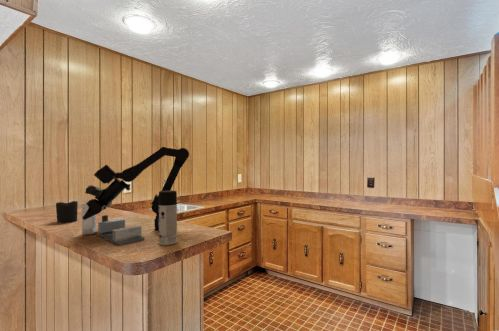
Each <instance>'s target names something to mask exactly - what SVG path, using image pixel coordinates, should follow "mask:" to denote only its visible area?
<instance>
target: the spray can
mask: <svg viewBox="0 0 499 331" xmlns="http://www.w3.org/2000/svg"><path fill="white" fill-rule="evenodd" d="M158 195H159V230H158V244H159V245H160V246H164V247H167V246H172V245H175V244H176V243H177V240H178V211H177V210H178V199H177V198H178V192H177V190H172V189H171V190H169V191H162V190H160V191H158Z"/></svg>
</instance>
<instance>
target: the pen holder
mask: <svg viewBox="0 0 499 331" xmlns="http://www.w3.org/2000/svg"><path fill="white" fill-rule="evenodd" d="M78 204H79V201H77V200H74V201H73V200H72V201H70V202H63V201H60V202H56V203H55V212H56V221H57V223H58V224H67V223H68V224H69V223H74V222H77V221H78Z"/></svg>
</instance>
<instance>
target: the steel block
mask: <svg viewBox="0 0 499 331" xmlns="http://www.w3.org/2000/svg"><path fill="white" fill-rule="evenodd" d="M87 202H88V201H87ZM87 202H86V201H85V202H83V203H81V233H82V235H83V236H84V235H85V236H86V235H93V234H94V233H96V232H97V214H96V215H94V216H92V217H90V218H87V219H85V220H84V219H83V216H84V215H85V213H86V212H87V210H88V208H89V207H88V205H87V204H86V203H87Z"/></svg>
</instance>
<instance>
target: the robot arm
mask: <svg viewBox="0 0 499 331" xmlns="http://www.w3.org/2000/svg"><path fill="white" fill-rule="evenodd" d="M165 156H167V157H172V158H174V162H173V165H172V167H171V169H170V172H169V174H168V176H167V178H166V180H165V182H164V185H163V187H162V189H161V191H169V190H171V191H172V188H173V185H174V184H175V181H176V179H177V178H178V175H179V173H180V170H181V169H182V167H183V165H184V164H185V163H186V161H187V160H188V159H189V157H190V151H189V150H188V149H187V148H185V147H182V148H178V149H177V148H171V147H169V148H168V147H166V146H162V147H160V148H159V149H158V150H156V151H154V153H152V154H151V155H149V156H147V157H146V158H144V159H143V160H142V161H140V162H139V163H137V164H135V165H132V166H129V167H128V168H125V169H123V170H122V171H121V172H120V171H117V172H116V171H114V170H113V169H112V168H111V167H110V165H108V164H105V165H104V166H102V167H101V168H100V169H97V171H95V173H94V174H93V176H94V177H95V178H96V179H98V180H99V181H100V182H101V183H102V184H104V185H105V184H107V185H108V186H107V187H105V188H100V187H97V186H95V185H91V184H90V185H87V187H86V188H85V192H84V194H86V195H88V194H89V195H92V196H94V198H92V199H89V200H88V201H87V203H86V204H87V205H88V207H89V208H88V210H87V212H86V213H85V215H84V216H83V219H84V220H85V219H87V218H90V217H92V216H94V215H96V216H97V215H98V214H100V213H101V212H103V211H104V210H106V209H107V208H109V207H110V206H111V205H112V204H113V201H114V200H115V199H116V198H118V196H119V195H120V194H122V192H123V191H125V190H127V191H130V190H131V184H130V183H131V182H133V181H135V180H136V179H137V178H138V177H139V176H140V175H141V174H142V173H143V172H144V171H145V170H146V169H148V168H149V167H151V166H152V165H153V164H155V163H156V162H157V161H160V159H162V158H164V157H165ZM150 205H151V211H152V212H153V213H155V219H154V231H159V194H157V193H155V195H154V197H153V200H152V201H151V202H150Z"/></svg>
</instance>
